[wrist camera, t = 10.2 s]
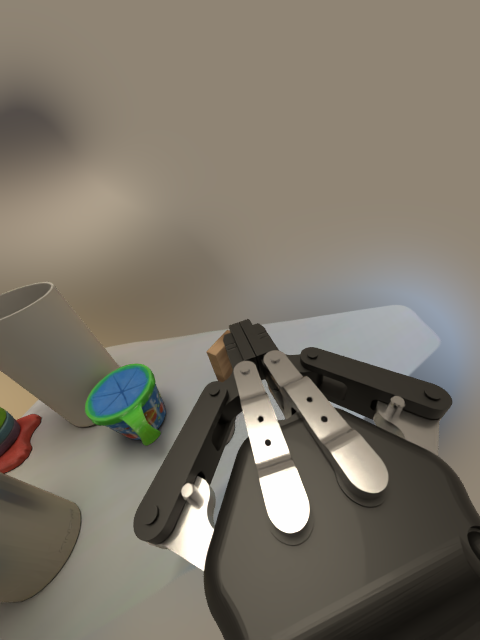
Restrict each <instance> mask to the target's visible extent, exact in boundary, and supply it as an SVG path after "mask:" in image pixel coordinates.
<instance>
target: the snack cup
mask: <svg viewBox="0 0 480 640" xmlns="http://www.w3.org/2000/svg"><path fill="white" fill-rule="evenodd" d="M85 413H86V415H87V416H88V417H89V419H90V420H92V423H94V424H96V425H100V426H101V425H103V426H107V427H109V428H110V429H113V430H115V431H116V432H118V433H121V434H122V435H124V436H126V437H128V438H131V439H134V440H138V439H141V440H142V443H143V445H146V446H147V445H149V444H151V443H153V442H154V441H155V440H156V439H157V438H158V437H159V436H160V434H161V432H160V431H158V430H157V429H158V428H159V427H160V425H161V424H162V422H163V420H164V417H165V415H166V410H165V406H164V403H163V400H162V398H161V396H160V393H159V391H158V389H157V386H156V384H155V378H154V375H153V373H152V371H151V370H150V369H149V368H148V367H147V366H145V365H142V364H130V365H126V366H123V367H120V368H118V369H116V370H114V371H112V372H111V373H109V374H108V375H107V376H105V377H104V378H103V379H102V380H101V381H99V382H98V383H97V384H96V386H95V387H94V388H93V389H92V391H91V392H90V394H89V396H88V398H87V400H86V404H85Z"/></svg>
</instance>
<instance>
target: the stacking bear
mask: <svg viewBox="0 0 480 640" xmlns="http://www.w3.org/2000/svg"><path fill="white" fill-rule="evenodd" d="M40 420H41V417H40V416H38V415H36V414H31V415H28V416H25V417H22V418H20V419H18V420H15V419H14V418H13V417H12V416H11V415H10V414H9V413H8V412H7V411H5V410H4V409H3V408H0V472H1V473H6V472H8V471H10V470H12V469H14V468H16V467H17V466H19V465H20V464H21V463H23V461H24V460H25V459H26V458H27V457H28V456H29V454H30V451H31V449H32V446H31V444H30V437H31V435H32V433H33V432H34V430H35V429H36V428H37V427H38V425H39V424H40Z"/></svg>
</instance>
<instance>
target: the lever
mask: <svg viewBox="0 0 480 640" xmlns="http://www.w3.org/2000/svg"><path fill="white" fill-rule="evenodd" d="M228 333H230V331H229V330H227V331H226V332H225V333H224V334H223V335H222V336H221V337H220V338H219V339H218V340H217V341H216V342H215V343H214V344H213V345H212V346H211V348H210V349H209V350H208V351H207V354H208V357H209V359H210V362H211V364H212V367H213V369H214V372H215V374H216V377H217V379H218V381H219V382H224V381H225V380H227V379H228V378H229V377H230V375H231V374H232V370H233V369H232V366H231V363H230V361H229V358H228V355H227V352H226V349H225V346H224V342H223V338H224V335H225V334H228Z"/></svg>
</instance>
